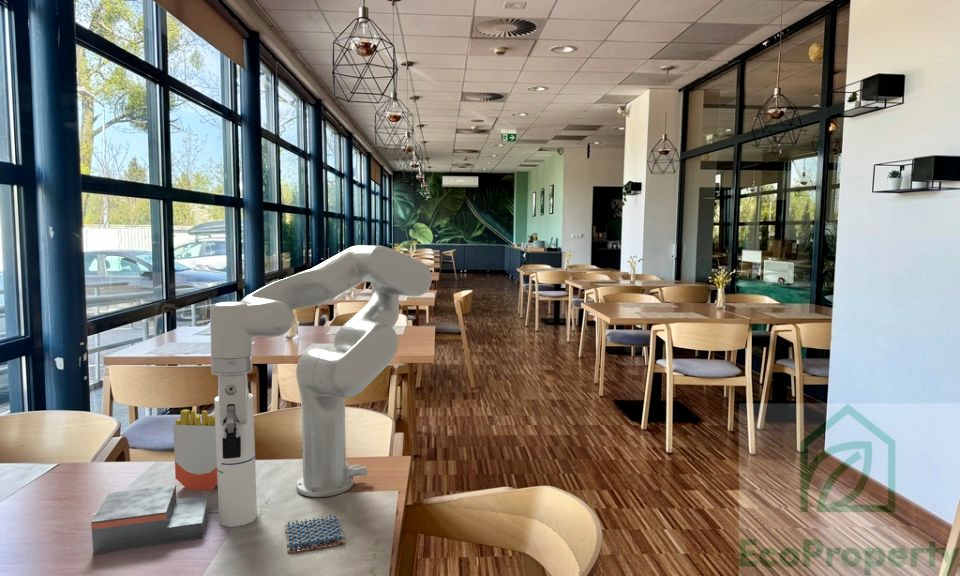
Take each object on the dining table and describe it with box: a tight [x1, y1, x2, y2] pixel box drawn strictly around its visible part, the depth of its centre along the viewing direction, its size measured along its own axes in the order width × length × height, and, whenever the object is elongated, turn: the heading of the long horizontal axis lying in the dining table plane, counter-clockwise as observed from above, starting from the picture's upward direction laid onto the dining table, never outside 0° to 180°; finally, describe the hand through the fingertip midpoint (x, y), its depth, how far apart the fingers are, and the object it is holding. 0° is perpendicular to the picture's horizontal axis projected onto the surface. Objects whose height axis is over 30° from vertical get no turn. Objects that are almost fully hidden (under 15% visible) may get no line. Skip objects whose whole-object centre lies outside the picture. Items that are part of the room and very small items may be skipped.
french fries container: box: [172, 409, 218, 491], centre depth 139 cm, size 5×11×18 cm, turn 85°
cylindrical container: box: [213, 392, 258, 528], centre depth 123 cm, size 7×7×25 cm
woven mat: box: [284, 515, 346, 553], centre depth 117 cm, size 10×11×2 cm
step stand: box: [90, 484, 210, 555], centre depth 119 cm, size 18×13×6 cm
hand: (233, 449), depth 123 cm, fingers open, 9 cm apart
